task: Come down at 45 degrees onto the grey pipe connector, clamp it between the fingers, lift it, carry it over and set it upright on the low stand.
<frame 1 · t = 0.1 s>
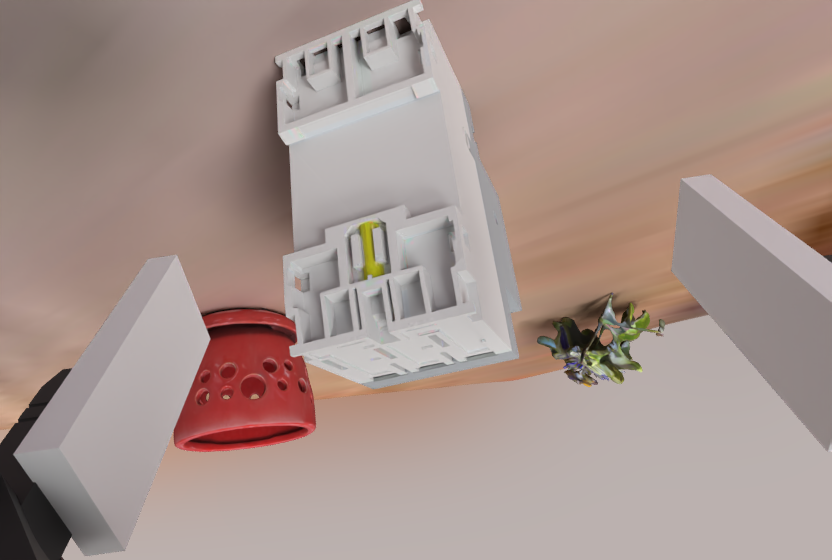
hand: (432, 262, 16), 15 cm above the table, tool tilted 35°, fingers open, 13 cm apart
passion flower: (591, 303, 69), on the table
plant pot: (245, 321, 61), on the table
circuit breaker: (401, 113, 34), on the table
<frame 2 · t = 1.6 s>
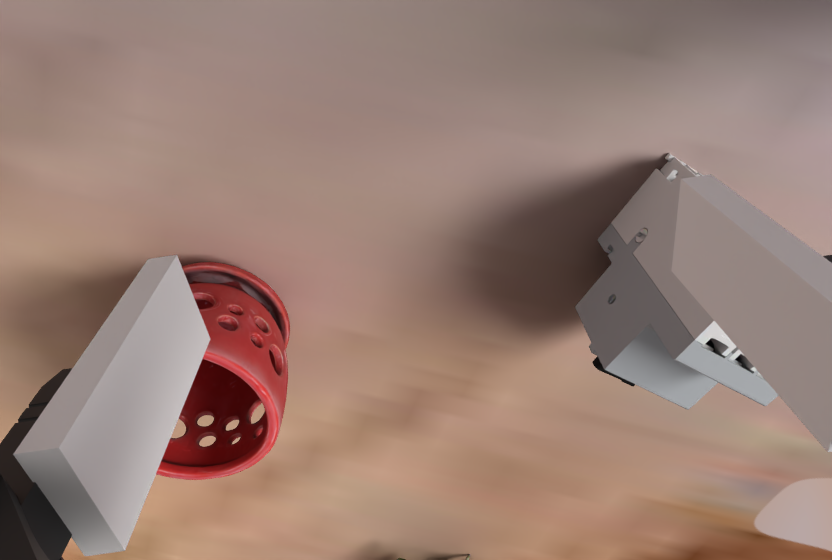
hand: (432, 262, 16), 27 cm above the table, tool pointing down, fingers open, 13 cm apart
plant pot: (225, 316, 49), on the table
circuit breaker: (640, 249, 47), on the table
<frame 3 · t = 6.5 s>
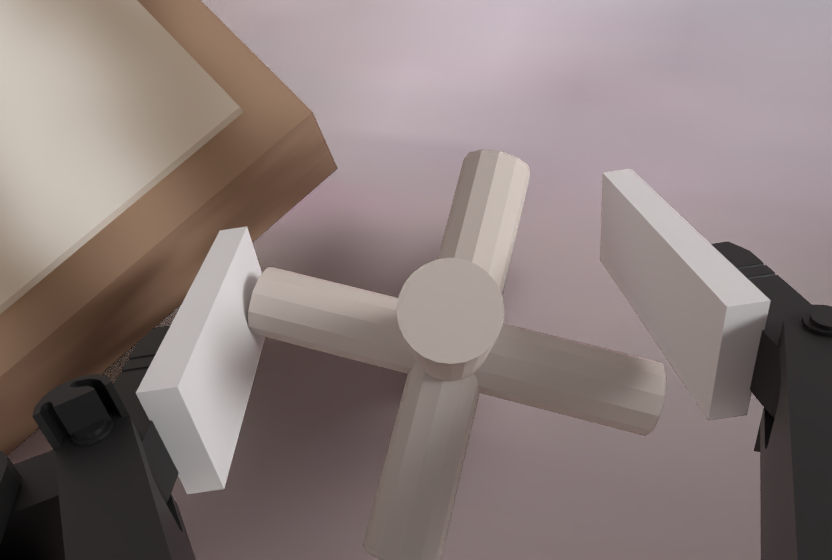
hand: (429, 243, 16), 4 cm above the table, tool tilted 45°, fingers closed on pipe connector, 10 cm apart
stand: (6, 165, 22), on the table
pipe connector: (450, 366, 20), on the table, touching gripper
when the fingers open (9 cm above the table, at t = 11.4 s): pipe connector drops 1 cm, resting on stand.
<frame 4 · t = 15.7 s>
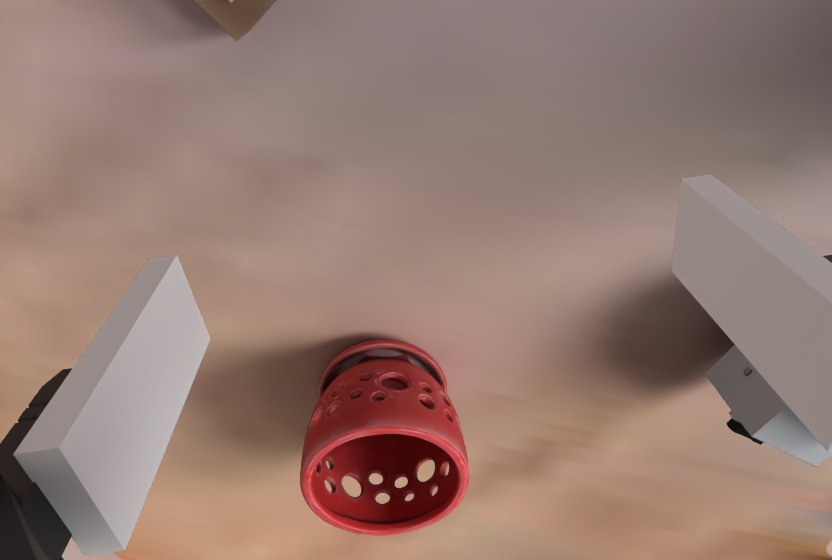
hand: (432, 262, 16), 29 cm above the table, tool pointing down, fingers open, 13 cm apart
plant pot: (383, 382, 55), on the table
circuit breaker: (755, 319, 54), on the table
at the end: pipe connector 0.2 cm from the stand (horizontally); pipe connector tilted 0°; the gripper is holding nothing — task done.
